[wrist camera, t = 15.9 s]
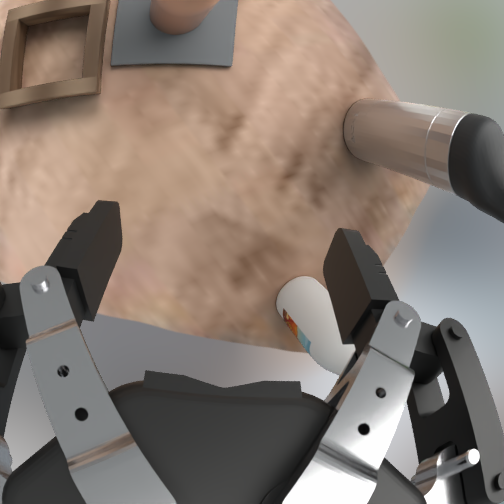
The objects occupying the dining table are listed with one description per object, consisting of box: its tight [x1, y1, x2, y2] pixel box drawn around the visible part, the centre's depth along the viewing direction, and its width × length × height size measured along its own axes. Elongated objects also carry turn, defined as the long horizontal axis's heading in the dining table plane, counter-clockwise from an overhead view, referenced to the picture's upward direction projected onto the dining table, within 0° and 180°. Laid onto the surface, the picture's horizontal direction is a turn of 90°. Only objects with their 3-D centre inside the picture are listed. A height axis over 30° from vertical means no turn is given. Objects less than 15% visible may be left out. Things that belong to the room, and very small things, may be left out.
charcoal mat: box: [111, 0, 238, 67], centre depth 24 cm, size 13×13×1 cm
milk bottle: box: [276, 276, 355, 376], centre depth 39 cm, size 8×8×20 cm
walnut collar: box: [0, 0, 110, 109], centre depth 20 cm, size 11×11×4 cm
